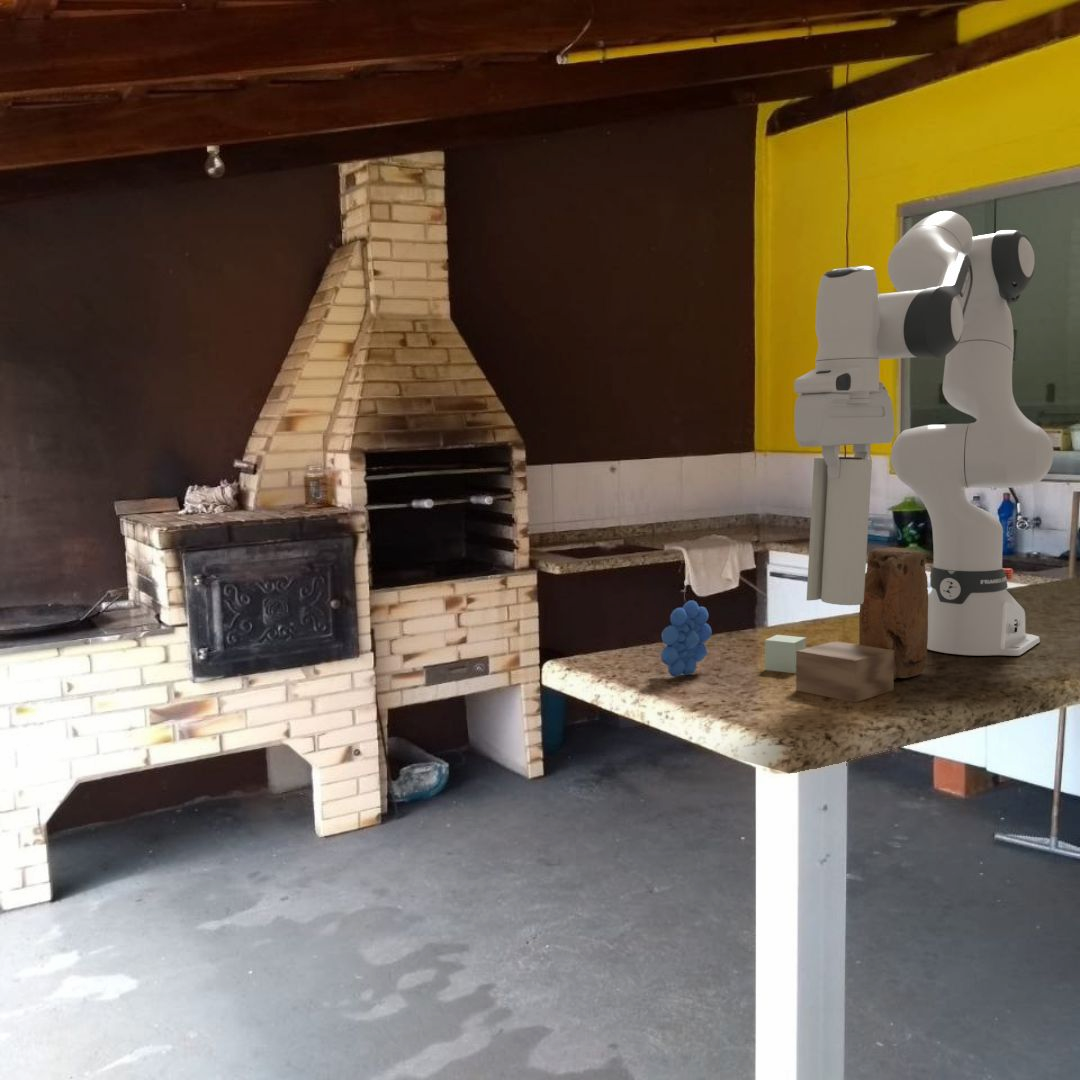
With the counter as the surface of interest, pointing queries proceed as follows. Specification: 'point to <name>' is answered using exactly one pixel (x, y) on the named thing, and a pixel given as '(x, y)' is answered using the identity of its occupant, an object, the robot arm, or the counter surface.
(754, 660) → the counter surface
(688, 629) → the grapes
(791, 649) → the green cube
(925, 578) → the block
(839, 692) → the walnut block
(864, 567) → the paper towel roll
